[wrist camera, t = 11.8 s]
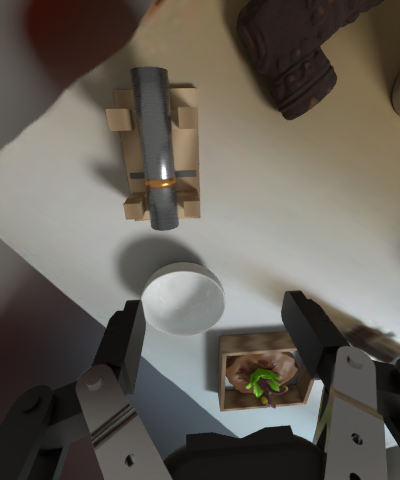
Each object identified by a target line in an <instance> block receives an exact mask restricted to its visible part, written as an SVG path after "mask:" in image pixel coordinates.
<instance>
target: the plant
mask: <svg viewBox="0 0 400 480" xmlns="http://www.w3.org/2000/svg"><path fill="white" fill-rule="evenodd" d="M298 370H299V368H298V366H297V364H296V363H295V359H294V357H293V354H292V353H290V352H276V353H263V354H249V355H236V356H232V357H231V358H230V359H229V360H228V361H226V377H227V378H228V380H229V382H230V383H231V384H232V385H234V389H237V390H239V391H240V392H241V393H251V395H256V397H257V398H258V397H260V396H261V394H263V393H264V394H265V396H266V397H262V399H261V400H262V402H263V403H264V405H265V406H267V407H269V406H270V403H271V406H272V408H276V404H275V403H274V402H272V400H271V398H270V395H269V394H271V392H273V393H274V394H282V393H284V392H286V391H287V390H288V387H287V385H283V387H282V391H279V388H278V387H280V386H281V385H282V384H284V383H285V382H288V381H289V380H290V379H291V378H292V377H293V376H295V374H296V372H297V371H298Z"/></svg>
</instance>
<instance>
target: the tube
mask: <svg viewBox="0 0 400 480" xmlns="http://www.w3.org/2000/svg"><path fill="white" fill-rule="evenodd" d="M130 72H131V80H132V87H133V95H134V102H135V110H136V117H137V125H138V132H139V139H140V147H141V154H142V162H143V169H144V179H145V186H146V192H147V199H148V207H149V214H150V222H151V227H152V228H153V229H155V230H160V231H164V230H171V229H174V228H176V227H177V226H178V225H179V221H178V207H177V194H176V176H175V166H174V152H173V138H172V124H171V110H170V97H169V83H168V71H167V70H166V69H163V68H158V67H138V68H133V69H131V70H130Z"/></svg>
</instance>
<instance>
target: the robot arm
mask: <svg viewBox="0 0 400 480" xmlns="http://www.w3.org/2000/svg"><path fill="white" fill-rule="evenodd" d="M392 102H393V107H394V109H395V111H396V112H397V113H398V115H400V74H399V75H398V77H397V80H396V82H395V85H394V88H393V93H392ZM281 316H282V321H283V323H284V325H285V327H286V329H287V331H288V333H289V335H290V337H291V339H292V341H293V343H294V345H295V347H296V349H297V351H298V353H299V355H300V357H301V359H302V361H303V363H304V365H305V367H306V369H307V371H308V373H309V375H310V377H311V378H312V380H322V382H323V384H324V387H323V391H322V397H321V403H320V409H319V415H318V421H317V427H316V431H315V434H314V438H313V442H310V441H308V440H306V439H304V438H302V437H300V436H297V435H293V432H292V430H291V427H290V425H289V426H277V427H266V428H263V429H261V430H259V431H256V432H254V433H252V434H250V435H248V436H246V437H243V438H234V437H230V436H226V435H221V434H217V433H213V432H211V433H200V434H189V435H186V444H184V445H182V446H180V447H179V448H177V449H175V450H174V451H173V452H172V453H170V454H169V455H168V456H167V457H166V458H165V459H164V461H162V459H161V457H160V455H159V453H158V452H157V450H156V448H155V446H154V444H153V442H152V440H151V439H150V437H149V435H148V433H147V431H146V429H145V428H144V425H143V424H142V422H141V420H140V418H139V416H138V414H137V412H136V411H135V409H134V408H133V407H131V405H130V403H129V401H128V399H127V398H126V394H133V393H134V388H135V382H136V377H137V372H138V367H139V361H140V356H141V351H142V346H143V341H144V335H145V329H146V321H145V315H144V309H143V304H142V300H127V301H126V304H125V307H124V310H123V311H116V312H115V314H114V315H113V316H112V317H111V318H110V320H109V322H108V325H107V329H106V330H105V333H104V336H103V338H102V341H101V343H100V346H99V348H98V351H97V354H96V356H95V359H94V361H93V364H92V366H91V367H90V368H89V369H87V370H86V371H85V372H84V373H83V374H82V375H81V376H80V378H79V379H78V380H77V381H75V382H73V383H71V384H68V385H66V386H63V387H61V388H58V389H56V390H53V391H52V390H51V388H50V387H49V386H46V385H39V386H35V387H33V388H31V389H29V390H27V391H26V392H24V393H23V394H22V395H21V396H19V397H18V399H17V400H16V401H15V402H14V403H13V405H12V406H11V408H10V410H9V411H8V413H7V415H6V417H5V419H4V420H3V422H2V424H1V426H0V480H59V477H60V474H61V471H62V468H63V464H64V461H65V458H66V455H67V452H68V448H69V445H70V443H72V442H74V441H77V440H79V439H81V438H83V437H85V436H88V435H90V434H91V437H92V443H93V447H94V450H95V453H96V456H97V459H98V462H99V465H100V468H101V470H102V473H103V476H104V479H105V480H387V465H386V448H385V430H384V423H385V425H386V426H387V428H388V429H389V431H390V433H391V434H392V436H393V437H394V439H395V441H396V442H397V444H398V445H399V447H400V359H399V360H398V361H397V362H396V364H395V365H392V364H387V363H383V362H378V361H374V360H371V358H370V357H369V356H368V355H367V354H365V353H364V352H363V351H361V350H359V349H357V348H354V347H351V346H350V345H349V343H348V342H347V341H346V339H345V338H344V337H343V335H342V334H341V333H340V332H339V330H338V329H337V328H336V326H335V325H334V324H333V322H332V321H331V320H330V318H329V317H328V316H327V315H326V313H325V312H324V310H323V309H322V308H321V307H320V305H318V304H317V303H316V302H314V301H313V300H312V299H307V298H306V297H305V296H304V294H303V293H302V292H301V291H300V290H297V291H286V292H285V295H284V300H283V305H282V310H281Z"/></svg>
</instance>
